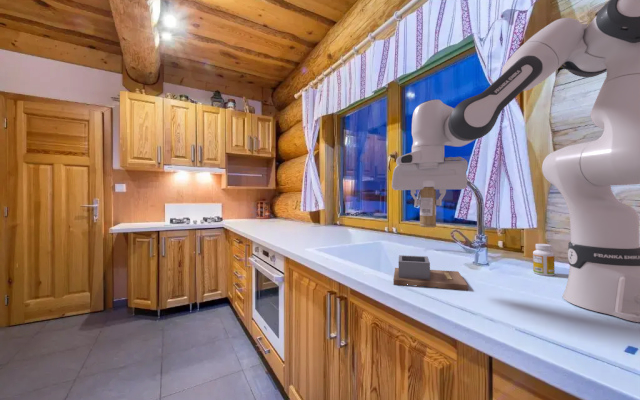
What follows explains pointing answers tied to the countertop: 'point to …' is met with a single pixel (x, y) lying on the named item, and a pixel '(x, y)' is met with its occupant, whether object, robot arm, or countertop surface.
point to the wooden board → (435, 280)
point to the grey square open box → (414, 267)
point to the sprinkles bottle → (428, 204)
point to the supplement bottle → (543, 260)
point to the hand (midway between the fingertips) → (427, 205)
